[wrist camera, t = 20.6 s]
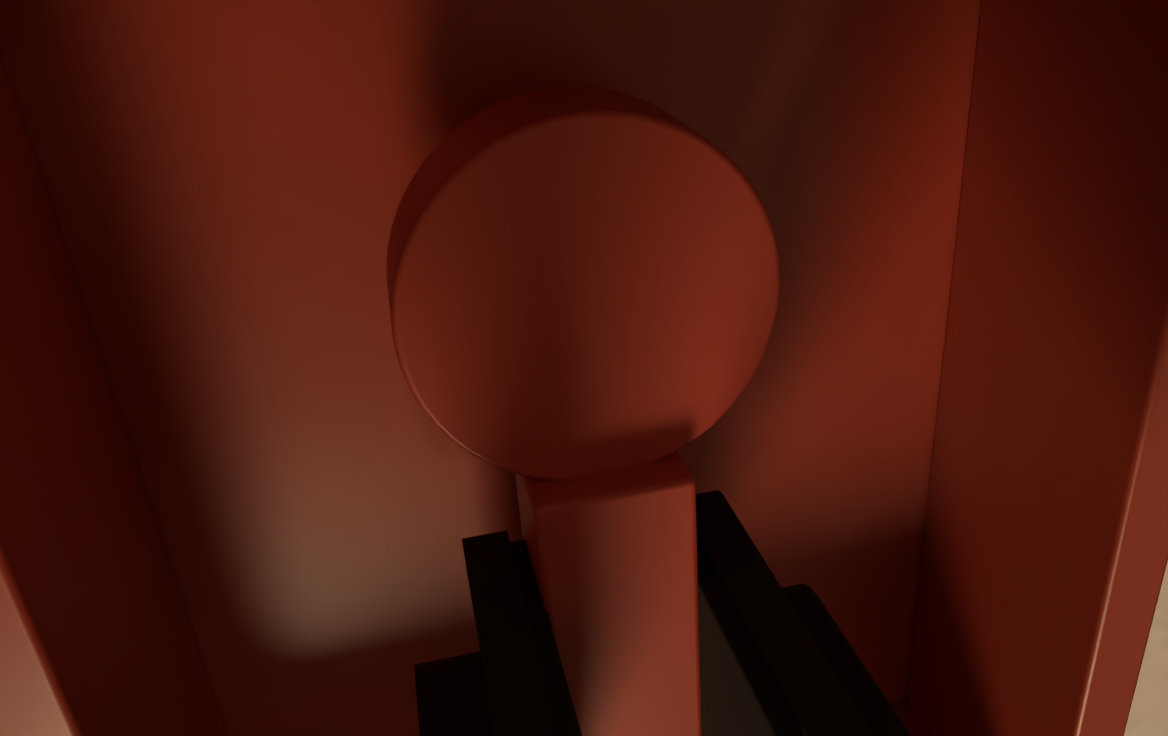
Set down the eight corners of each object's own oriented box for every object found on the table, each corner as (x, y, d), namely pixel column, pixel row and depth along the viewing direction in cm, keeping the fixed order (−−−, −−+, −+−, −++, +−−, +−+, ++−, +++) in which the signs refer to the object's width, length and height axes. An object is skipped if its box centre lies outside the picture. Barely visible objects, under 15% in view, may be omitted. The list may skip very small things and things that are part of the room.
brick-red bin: (-122, -135, 9) (-458, -153, 5) (1027, -218, 10) (1383, -276, 7) (233, 853, 15) (195, 1163, 11) (921, 694, 17) (1080, 918, 13)
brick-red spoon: (739, 738, 13) (784, 838, 12) (479, 799, 13) (495, 912, 11) (737, 63, 9) (805, 94, 8) (354, 109, 9) (355, 151, 7)
